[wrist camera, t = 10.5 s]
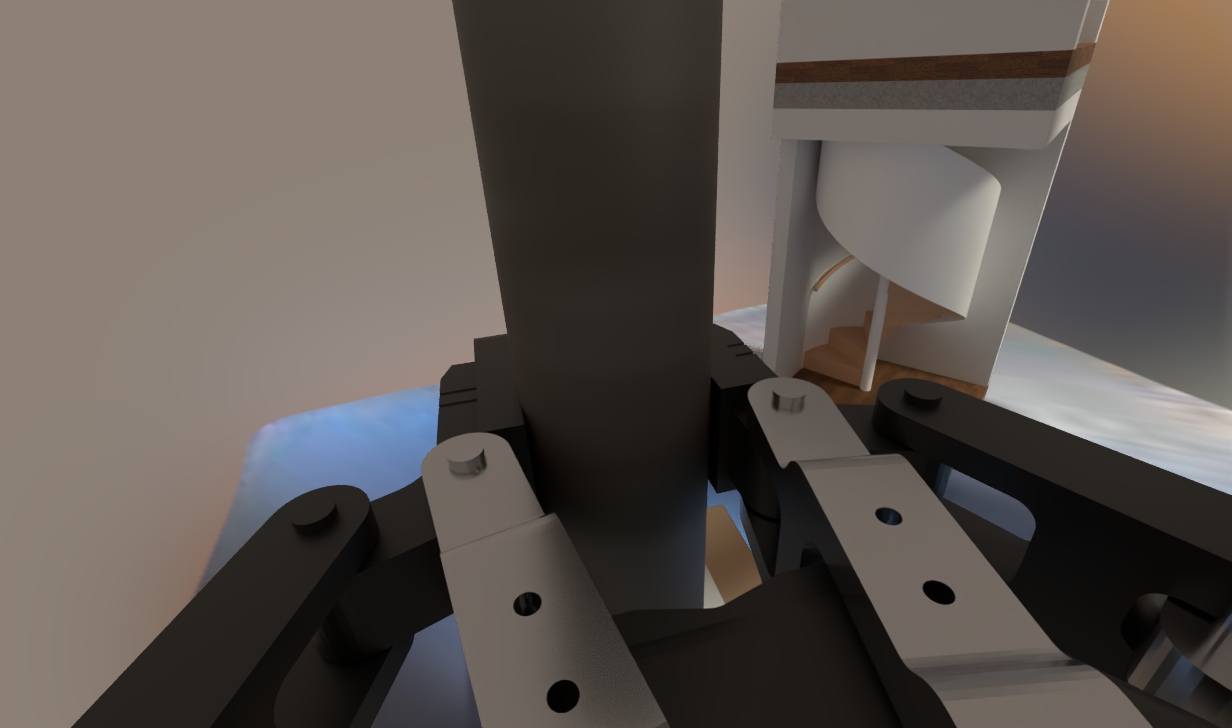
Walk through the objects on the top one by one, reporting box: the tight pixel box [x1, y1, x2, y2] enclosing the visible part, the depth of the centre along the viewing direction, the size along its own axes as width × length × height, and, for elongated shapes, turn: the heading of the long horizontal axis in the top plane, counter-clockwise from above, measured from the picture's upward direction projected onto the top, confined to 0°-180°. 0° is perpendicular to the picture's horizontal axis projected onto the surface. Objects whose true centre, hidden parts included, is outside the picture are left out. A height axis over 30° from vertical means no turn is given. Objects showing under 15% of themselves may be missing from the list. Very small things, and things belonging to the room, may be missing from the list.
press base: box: [704, 505, 762, 608], centre depth 19 cm, size 18×11×5 cm, turn 14°
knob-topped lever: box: [452, 0, 723, 616], centre depth 11 cm, size 5×8×24 cm, turn 104°
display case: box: [763, 0, 1109, 479], centre depth 29 cm, size 11×11×35 cm
